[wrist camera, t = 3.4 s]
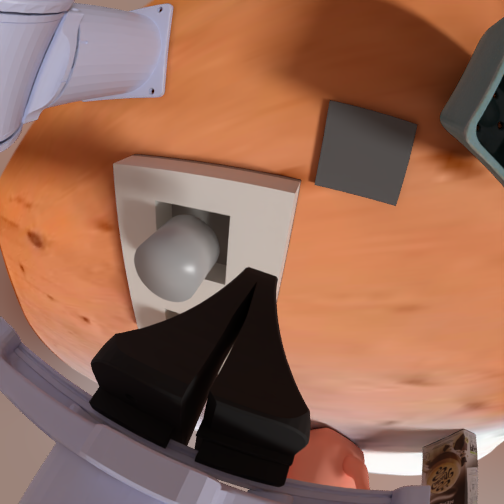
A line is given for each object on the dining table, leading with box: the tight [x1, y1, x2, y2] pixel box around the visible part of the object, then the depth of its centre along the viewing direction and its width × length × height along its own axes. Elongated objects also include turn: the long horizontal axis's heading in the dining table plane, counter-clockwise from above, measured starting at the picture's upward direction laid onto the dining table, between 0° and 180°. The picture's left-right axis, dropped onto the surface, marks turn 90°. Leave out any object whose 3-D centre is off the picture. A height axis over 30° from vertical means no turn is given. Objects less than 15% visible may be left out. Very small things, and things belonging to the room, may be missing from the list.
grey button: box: [134, 215, 220, 302], centre depth 20 cm, size 5×5×4 cm
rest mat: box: [315, 100, 417, 206], centre depth 17 cm, size 6×6×1 cm
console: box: [113, 154, 301, 374], centre depth 26 cm, size 14×22×3 cm, turn 174°
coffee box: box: [422, 429, 478, 504], centre depth 26 cm, size 9×6×16 cm
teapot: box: [287, 428, 370, 490], centre depth 33 cm, size 20×19×14 cm
